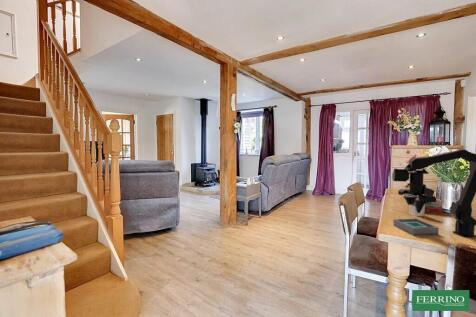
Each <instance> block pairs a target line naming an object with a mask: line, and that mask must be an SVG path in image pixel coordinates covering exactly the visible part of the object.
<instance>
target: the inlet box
mask: <svg viewBox="0 0 476 317" xmlns="http://www.w3.org/2000/svg"><path fill="white" fill-rule="evenodd" d="M393 226H394V227H395V228H398V229H400V230H402V231H404V232H406V233H408V234H409V235H412V236H427V235H431V236H432V235H434V236H435V235H439V227H438V226H436V225H434V224H431V223H429V222H426V221H424V220H421V219H419V218H393Z"/></svg>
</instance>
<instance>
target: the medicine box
mask: <svg viewBox="0 0 476 317" xmlns="http://www.w3.org/2000/svg"><path fill="white" fill-rule="evenodd" d="M424 213H431V214H439V215H440V214H442V213H443V201H441V199H440V198H436V202H427V203H425V211H424Z"/></svg>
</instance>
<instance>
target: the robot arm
mask: <svg viewBox="0 0 476 317" xmlns="http://www.w3.org/2000/svg"><path fill="white" fill-rule="evenodd" d="M457 159H461V160H464V161H466V162H468V164H469V165H468V169H469V174H468V177H467V179H466V182H465V184H464V186H463V189H462V192H461V194H460V197H459V199H458V200H457V201H456V202H455V201H452V202H451V204H450V207H449V210H450V211H449V213H450V214H451V215H452V216H453V217H454V219H455V220H456V221H455V225H454V227H455V228H454V230H453V231H452V233H454V234H456V235H458V236H460V237H463V238H476V234H475V227H476V219H475V218H474V217H473V216H472V213H473V206H472V203H473V201H474V198H475V196H476V153H474V152H471V151H469V150H466V149H464V148H463V149H462V148H459V149H457V150H453V151H448V152H447V151H446V152H443V153H440V154H435V155H431V156H420V157H419V156H418V157H413V158H410V159H409V161H408V164H407V165H406V166H405V167H404V168H396V167H395V168H393V171H392V176H391V178H392V182H402V183H403V182H405V183H406V182H407V181H409V182H408V183H407V186H409V187H408V188H403V189H399V190H398V191H397V194H398V195H400V196H402V197H403V199H404V200H405V202H406V204H407V205H408V206H409V205H412V204H414V203H415V205H416V209H417V213H420V212H421V210H422V208H423V206H424V204H425V203H427V202H436V199H437V197H436V196H435V192H436V191H435V190H434V189H431V188H429V187H427V185H426V184H424V175H428V174H430V173H429V172H428V171H427V170H426V168H428V167H430V166H432V165H434V164H440V163H443V162H444V163H445V162H448V161H453V160H457ZM403 195H404V196H403ZM417 195H418V196H417ZM416 198H418V200H415V199H416Z"/></svg>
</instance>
